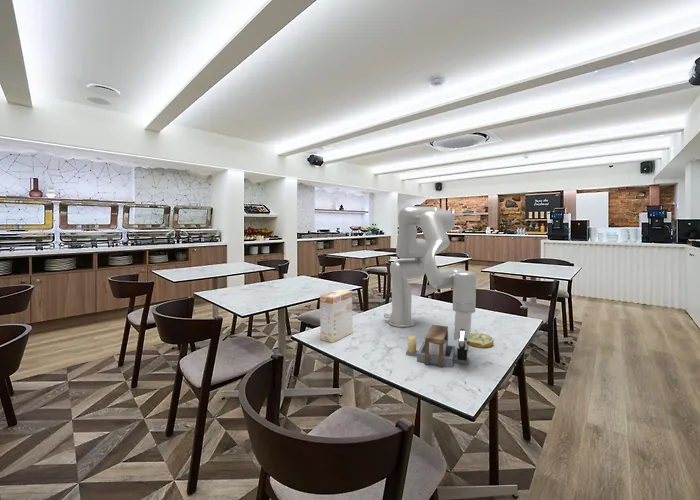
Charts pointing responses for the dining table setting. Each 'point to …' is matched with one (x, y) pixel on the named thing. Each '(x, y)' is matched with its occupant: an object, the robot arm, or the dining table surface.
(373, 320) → the dining table surface
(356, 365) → the dining table surface
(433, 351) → the white cylinder
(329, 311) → the coffeecake box
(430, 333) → the tunnel
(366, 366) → the dining table surface
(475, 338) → the decorated donut
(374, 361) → the dining table surface
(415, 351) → the slider
